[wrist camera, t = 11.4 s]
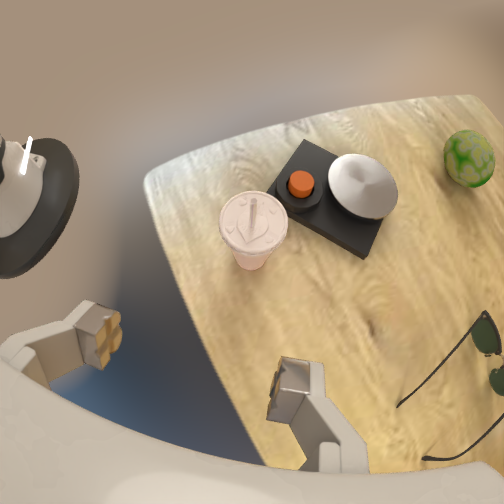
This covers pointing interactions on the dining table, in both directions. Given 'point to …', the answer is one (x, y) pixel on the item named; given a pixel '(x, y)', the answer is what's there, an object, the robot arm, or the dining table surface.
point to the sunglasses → (486, 343)
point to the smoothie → (253, 227)
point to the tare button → (300, 184)
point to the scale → (322, 202)
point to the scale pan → (362, 186)
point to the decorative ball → (469, 158)
